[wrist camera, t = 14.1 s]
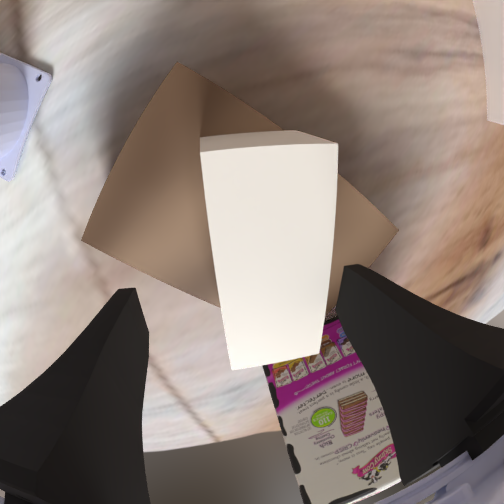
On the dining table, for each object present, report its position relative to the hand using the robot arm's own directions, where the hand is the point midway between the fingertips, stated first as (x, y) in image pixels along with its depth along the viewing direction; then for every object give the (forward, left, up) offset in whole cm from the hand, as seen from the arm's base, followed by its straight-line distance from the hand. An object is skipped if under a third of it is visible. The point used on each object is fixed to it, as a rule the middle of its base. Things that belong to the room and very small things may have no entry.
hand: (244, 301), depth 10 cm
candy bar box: (+16, -7, -11) cm, 20 cm away
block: (+1, +1, -4) cm, 4 cm away
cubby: (+1, +1, -10) cm, 10 cm away
